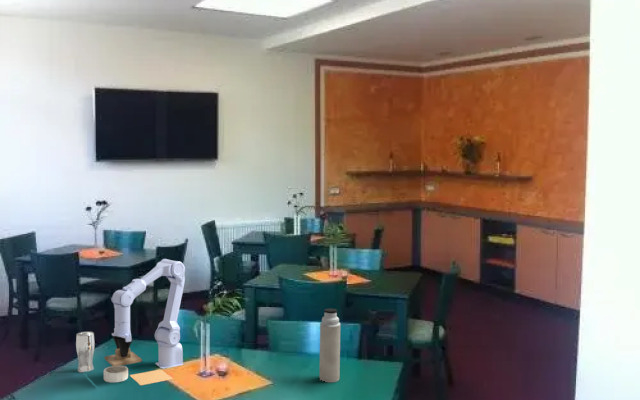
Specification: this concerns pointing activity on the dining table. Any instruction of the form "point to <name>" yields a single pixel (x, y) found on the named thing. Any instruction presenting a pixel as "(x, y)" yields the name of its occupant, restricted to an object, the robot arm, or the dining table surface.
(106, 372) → the bowl
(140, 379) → the mat
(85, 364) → the beer glass
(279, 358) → the dining table surface
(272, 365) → the dining table surface
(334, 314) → the thermos bottle
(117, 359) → the lid
